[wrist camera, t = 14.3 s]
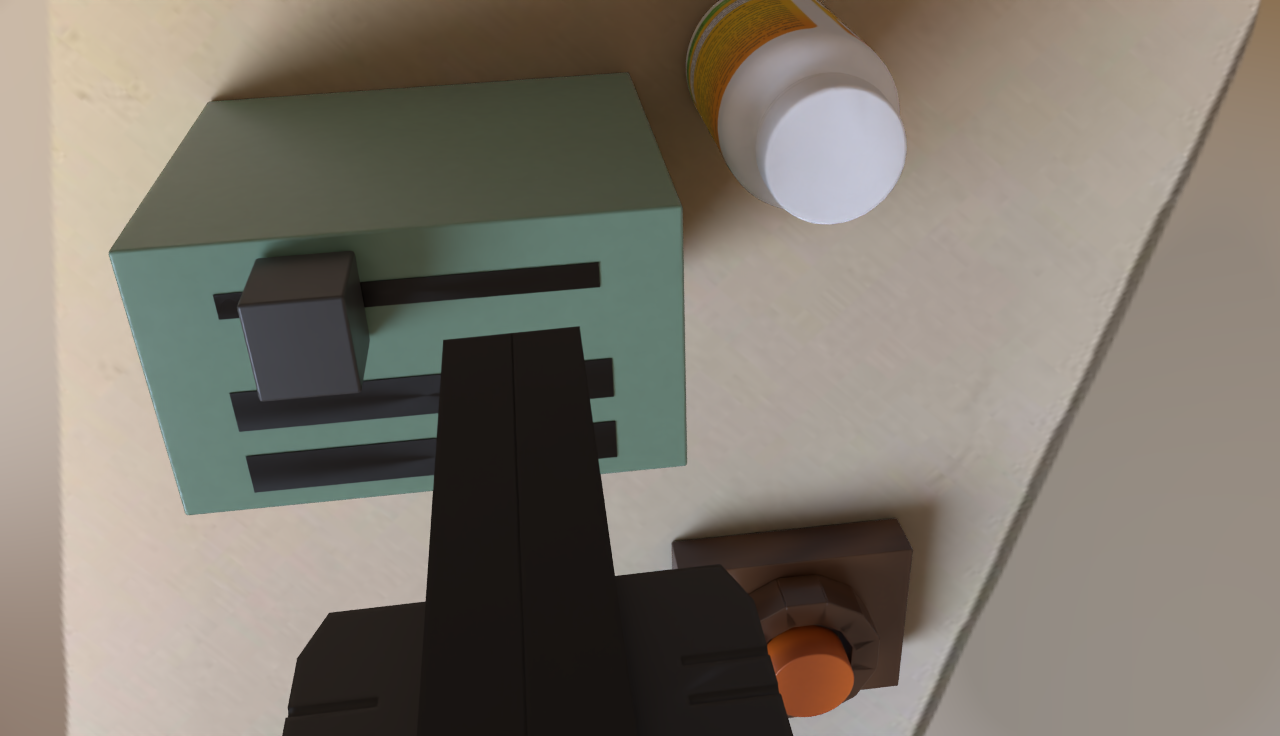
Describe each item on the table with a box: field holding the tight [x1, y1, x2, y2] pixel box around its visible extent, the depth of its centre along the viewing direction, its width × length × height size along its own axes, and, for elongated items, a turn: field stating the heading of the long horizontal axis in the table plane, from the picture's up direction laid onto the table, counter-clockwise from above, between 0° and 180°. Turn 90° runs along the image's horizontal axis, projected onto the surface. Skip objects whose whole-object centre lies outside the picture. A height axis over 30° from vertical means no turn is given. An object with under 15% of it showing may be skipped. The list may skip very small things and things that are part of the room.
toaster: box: [109, 73, 687, 515], centre depth 35 cm, size 14×8×12 cm, turn 92°
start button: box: [767, 625, 854, 717], centre depth 48 cm, size 4×4×2 cm
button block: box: [672, 518, 913, 718], centre depth 50 cm, size 10×8×4 cm
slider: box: [237, 251, 370, 402], centre depth 28 cm, size 2×3×3 cm
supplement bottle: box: [686, 0, 907, 224], centre depth 35 cm, size 5×5×10 cm
